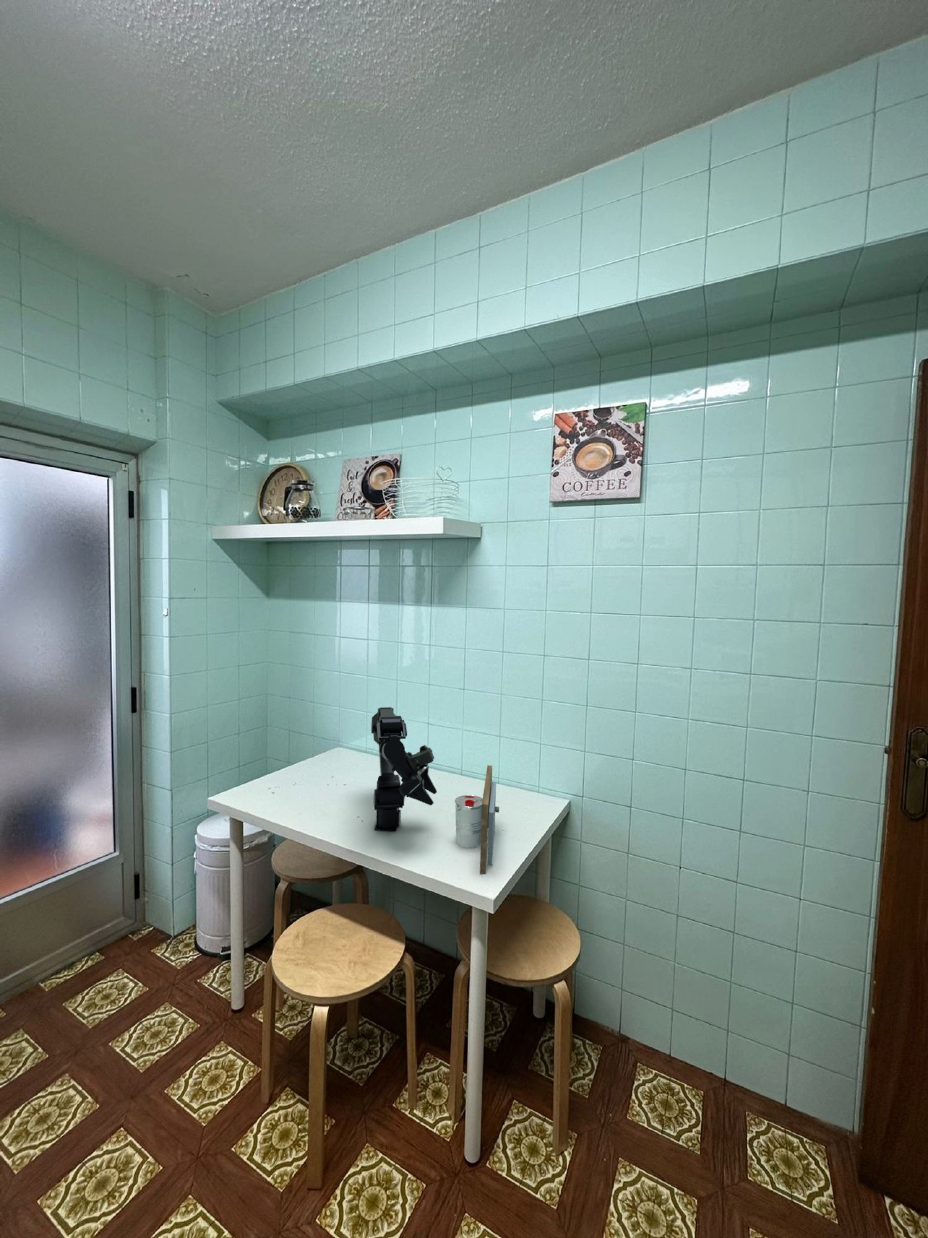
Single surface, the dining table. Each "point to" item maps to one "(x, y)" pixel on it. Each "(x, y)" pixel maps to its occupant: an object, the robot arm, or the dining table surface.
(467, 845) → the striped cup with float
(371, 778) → the dining table surface
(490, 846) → the door
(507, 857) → the dining table surface
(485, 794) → the door frame
